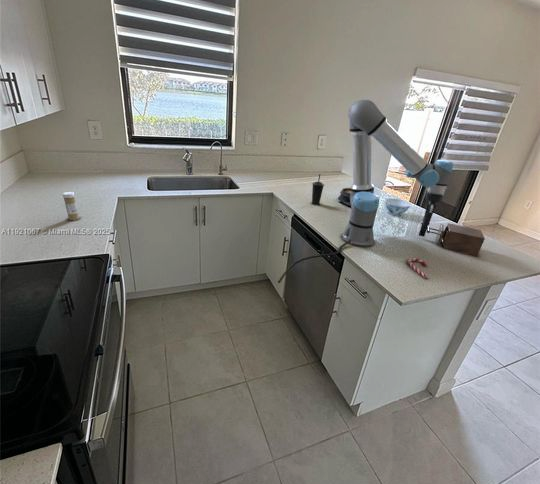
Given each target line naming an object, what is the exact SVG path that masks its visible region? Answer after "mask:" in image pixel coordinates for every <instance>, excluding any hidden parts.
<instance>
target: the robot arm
mask: <svg viewBox="0 0 540 484" xmlns="http://www.w3.org/2000/svg"><path fill="white" fill-rule="evenodd" d="M348 119H349V121H348V123H349V133H350V134H351V135H352V161H353V162H352V180H353V181H352V184H351V185H350V187H349V188H350V203H351V206H350V208H351V211H350V215H349V219H348V223H347V225H346V227H345V229H344V231H343V232H342V235H341V236H342V237H341V238H342V239H343V241H344V243H342V244H341V245H340V246H339V247H338V249H337V251H335V252H333V253H323V254H316V255H311V256H306V257H303V258H300V259H298V260H296V261H294V262H293V263H292V264H290V265H289V266H288V267H287V269H286V270H285V271H284V272H283V273H282V275H281V276H280V278H279V279H278V281H277V283H278V284H281V282H282V280H283V279H284V277H285V276H286V275H287V273H288V272H289V271H290V270H291V269H292V268H293V267H294V266H296V265H297V264H299V263H301V262H303V261H306V260H310V259H315V258H321V257H331V256H336V255H339V253H340V252H341V249H342V248H343V247H345V246H346V245H348V244H350V245H354V246H357V247H370V246H372V245H373V244H374V240H375V235H374V225H375V220H376V217H377V213H378V209H379V206H380V198H379V196H378V195H376V194H375V185H374V184H373V183H372V139H373V138H374V139H375V140H376V141H377V142H378V143H379V144H380V145H381V146H382V147H383V148H384V149H385V150H386V151H387V152H388V153H389V154H390V155H391V156H392V157H393V158H394V160H396V161H397V162H398V163H399V164H400V165H401V166H402V167H403V168H404V169H405V177H406V178H410V179H415V180H416V181H417V182H418V183H419V184H420V185H421V186H422V187H425V188H427V189H426V193H425V196H424V199H425V200H426V201H428V202H426V206H425V211H424V215H423V219H422V222H421V223H420V225H421V226H420V229H419V232H418V236H419V237H423V238H424V237H425V236H426V233H427V227H429V226H430V225H431V224H430V222H431V220H432V217H433V214H434V212H435V210H436V207H437V203H441V202H442V201H443V198H444V194H445V193H446V190H448V187H447V185H448V184H449V180H450V177H451V175H452V172H453V168H454V162H452V161H451V160H447V159H436V161H435V163H428V162H427V161H426V160H425V159H424V158H423V157H422V156H421V155H420V154H419V153H418V152H417V151H416V150H415V149H414V148H413V147H412V146H411V145H410V144H409V143H408V142H407V141H406V140H405V139H404V138H403V137H402V136H401V135H400V134H399V133H398V132H397V130H395V129H394V128H393V127H392V126H391V125H390V124H389V123H388V122H387V121H388V118H387V117H386V116H385V115H384V114H383V113H382V111H381V110H380V109H379V107H378V106H377V105H376V103H375V102H374V101H372V100H370V99H360V100H357V101H355V102H353V104H351V106H350V108H349V110H348ZM372 137H373V138H372Z"/></svg>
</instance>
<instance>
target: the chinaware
mask: <svg viewBox="0 0 540 484" xmlns="http://www.w3.org/2000/svg"><path fill="white" fill-rule="evenodd" d="M384 205H385V208H386V209H387V211H388V213H389V214H390V215H392V216H395V217H396V216H401V215H402V214H405V213H406V212H407V211H408V210H409V209H410V207H411V203H410V202H409V201H406V200H403V199H399V198H386V199H385V200H384Z"/></svg>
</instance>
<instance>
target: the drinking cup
mask: <svg viewBox="0 0 540 484" xmlns="http://www.w3.org/2000/svg"><path fill="white" fill-rule="evenodd" d="M320 179H321V173H318V179H317V181H314V182H312V193H311V194H312V195H311V204H312V205H314V206H319V205H320V202H321V198H322V195H323V190H324V187H325V183H323V182H322V181H320Z"/></svg>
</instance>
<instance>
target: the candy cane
mask: <svg viewBox="0 0 540 484" xmlns="http://www.w3.org/2000/svg"><path fill="white" fill-rule="evenodd" d="M413 262H417V263H418V262H419V263H421V264H422V265H423V267H426V266H427V263H426V262H425V261H424V260H423V259H421V258H416V257H412V258H409V259H408V260H407V264H408V265H409V267H410V268H411V269H413V271H415V272H416V273H417V274H419V275H420V276H421V277H423V278H424V279H427V278H428V275H427V274H425V273H424V272H423V271H421V270H420V269H419V268H418V267H416V266H415V265H414V264H413Z"/></svg>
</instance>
